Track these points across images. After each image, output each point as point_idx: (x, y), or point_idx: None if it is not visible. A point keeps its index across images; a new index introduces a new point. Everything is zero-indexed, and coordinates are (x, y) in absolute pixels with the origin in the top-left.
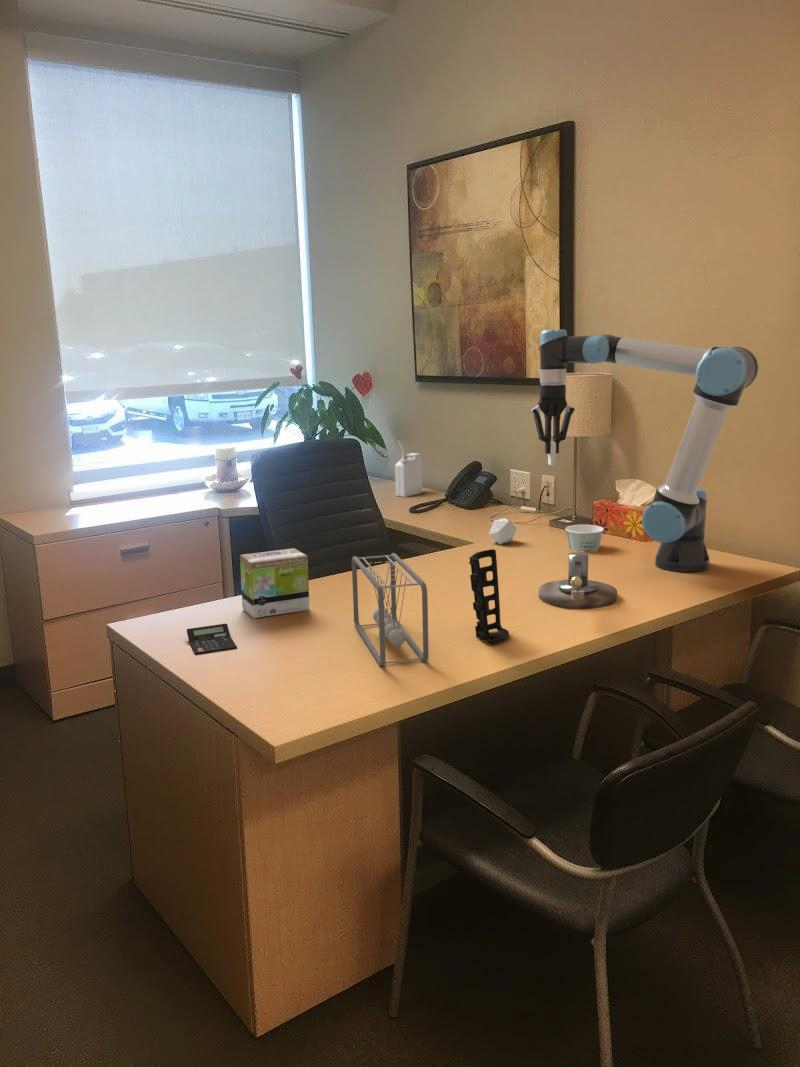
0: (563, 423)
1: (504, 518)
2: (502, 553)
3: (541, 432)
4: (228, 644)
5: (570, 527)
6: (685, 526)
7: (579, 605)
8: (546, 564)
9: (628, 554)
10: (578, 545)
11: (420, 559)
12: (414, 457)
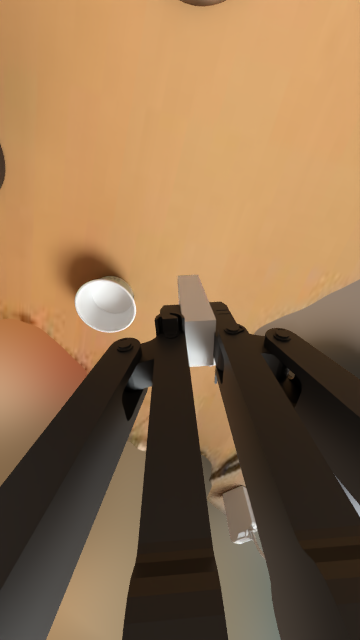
0: (87, 496)
1: (211, 365)
2: (229, 288)
3: (330, 371)
4: None
5: (125, 325)
6: None
7: None
8: (188, 211)
9: (50, 248)
10: (123, 282)
11: (343, 277)
12: (238, 536)
